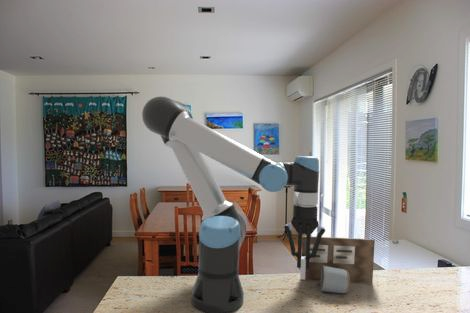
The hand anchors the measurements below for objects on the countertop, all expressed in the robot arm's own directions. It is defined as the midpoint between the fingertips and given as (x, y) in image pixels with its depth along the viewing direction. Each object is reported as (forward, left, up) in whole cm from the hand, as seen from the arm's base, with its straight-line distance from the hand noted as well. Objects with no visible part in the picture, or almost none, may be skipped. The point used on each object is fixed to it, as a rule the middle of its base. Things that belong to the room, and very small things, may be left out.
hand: (302, 277), depth 101 cm
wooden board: (+13, +7, -4) cm, 15 cm away
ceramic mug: (+10, +1, -4) cm, 11 cm away
